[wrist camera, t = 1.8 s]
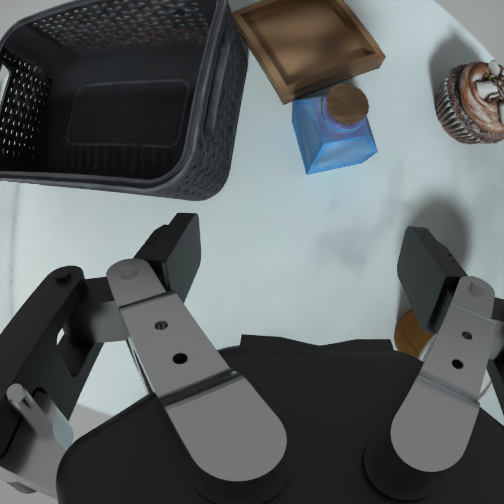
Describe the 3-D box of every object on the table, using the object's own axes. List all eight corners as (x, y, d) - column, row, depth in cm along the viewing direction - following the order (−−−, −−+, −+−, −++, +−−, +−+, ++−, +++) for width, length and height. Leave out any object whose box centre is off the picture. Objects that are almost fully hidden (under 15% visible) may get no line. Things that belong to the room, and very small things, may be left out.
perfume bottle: (306, 174, 33) (318, 151, 21) (291, 120, 33) (294, 74, 21) (361, 163, 33) (398, 136, 21) (345, 110, 32) (372, 62, 20)
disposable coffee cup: (463, 329, 33) (517, 365, 21) (409, 382, 34) (446, 436, 22) (424, 275, 33) (480, 299, 21) (365, 334, 34) (397, 383, 22)
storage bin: (30, 184, 37) (-41, 178, 24) (60, 58, 35) (4, 23, 22) (225, 205, 35) (189, 197, 21) (252, 46, 32) (236, -24, 19)
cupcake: (442, 64, 30) (478, 29, 20) (498, 111, 30) (542, 89, 20) (417, 118, 31) (456, 88, 21) (477, 167, 31) (527, 154, 21)
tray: (234, 26, 32) (230, 12, 29) (324, -6, 30) (326, -19, 27) (283, 105, 33) (283, 95, 30) (379, 68, 31) (385, 56, 28)
